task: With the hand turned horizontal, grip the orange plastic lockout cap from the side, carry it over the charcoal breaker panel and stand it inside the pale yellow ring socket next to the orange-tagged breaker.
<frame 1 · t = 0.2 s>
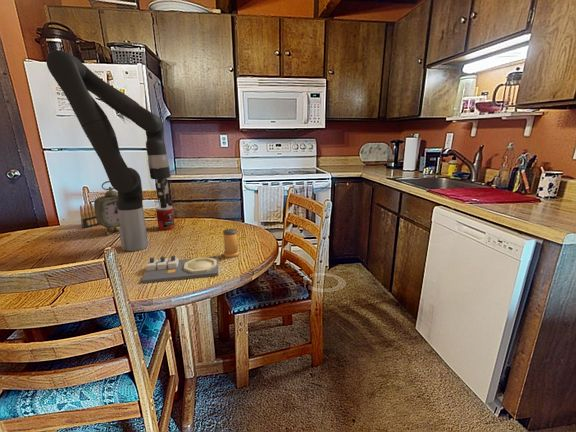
hand: (165, 205, 123), 17 cm above the table, tool pointing down, fingers open, 8 cm apart
ammunition clip: (94, 226, 155), on the table
tabletop clock: (117, 231, 146), on the table
lockout cap: (231, 254, 117), on the table
canned food: (166, 228, 151), on the table
breaker panel: (183, 270, 104), on the table
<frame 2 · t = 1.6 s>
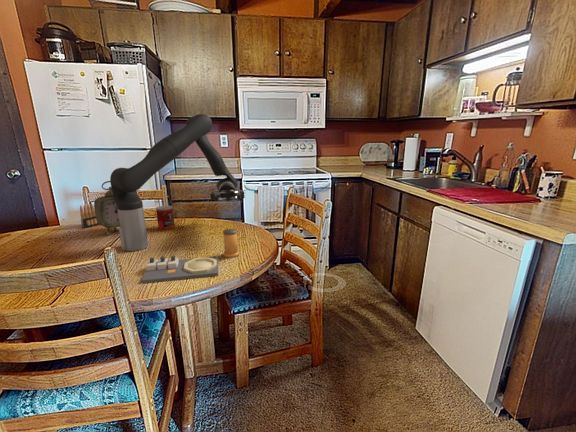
hand: (227, 198, 122), 20 cm above the table, tool horizontal, fingers open, 8 cm apart
nothing on the table moved.
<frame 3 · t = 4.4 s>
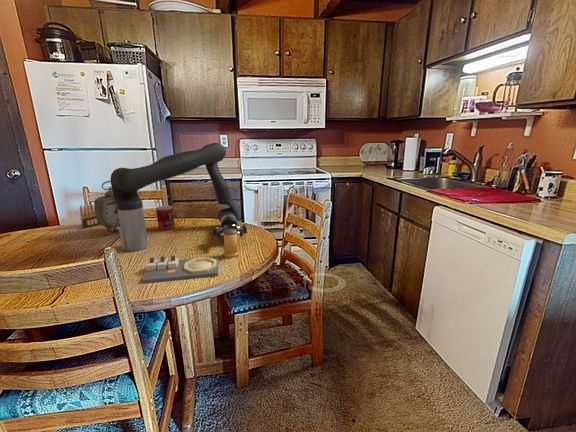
hand: (230, 235, 121), 6 cm above the table, tool horizontal, fingers open, 8 cm apart
nothing on the table moved.
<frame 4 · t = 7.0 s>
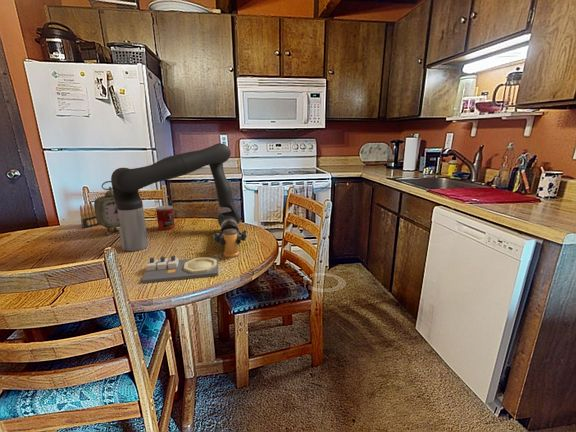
hand: (230, 242, 113), 6 cm above the table, tool horizontal, fingers closed on lockout cap, 5 cm apart
lockout cap: (231, 254, 117), on the table, touching gripper
everything else where it was.
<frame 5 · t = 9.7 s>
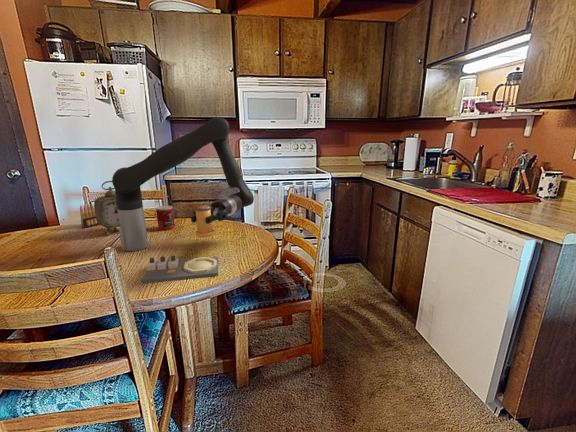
hand: (199, 220, 100), 18 cm above the table, tool horizontal, fingers closed on lockout cap, 5 cm apart
lockout cap: (205, 234, 104), point 12 cm above the table, touching gripper
everything else where it was.
when the fingers open (9 cm above the table, at t = 12.5 s): lockout cap drops 2 cm, resting on breaker panel.
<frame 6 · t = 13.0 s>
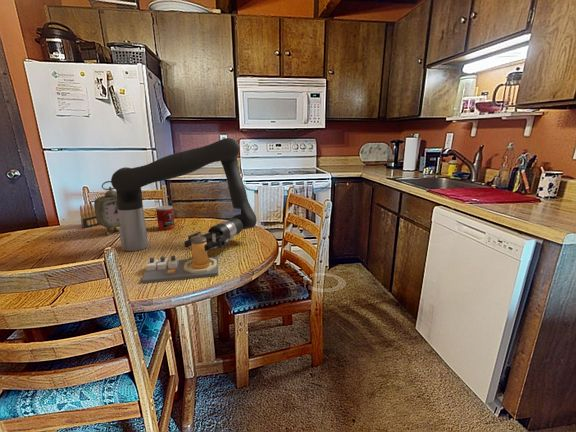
hand: (195, 246, 101), 9 cm above the table, tool horizontal, fingers open, 8 cm apart
lockout cap: (201, 265, 105), point 1 cm above the table, touching breaker panel
everything else where it was.
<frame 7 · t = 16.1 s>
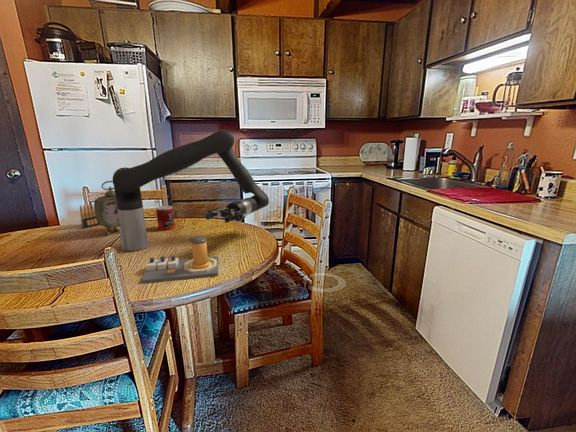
hand: (216, 218, 111), 15 cm above the table, tool horizontal, fingers open, 8 cm apart
nothing on the table moved.
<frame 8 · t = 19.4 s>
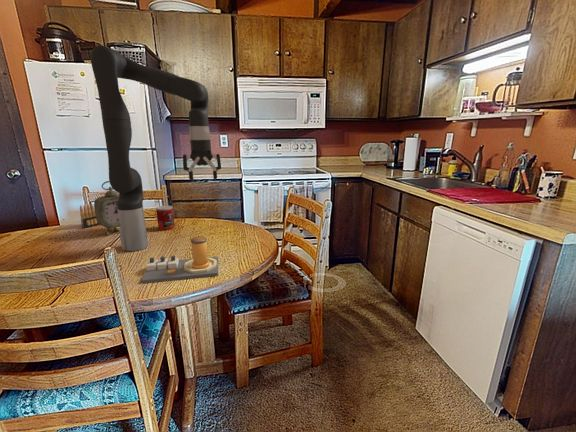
hand: (203, 180, 118), 28 cm above the table, tool pointing down, fingers open, 8 cm apart
nothing on the table moved.
at the end: lockout cap 0.1 cm from the target spot on the breaker panel, point 1.1 cm above the breaker panel's base; lockout cap tilted 0°; the gripper is holding nothing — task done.
